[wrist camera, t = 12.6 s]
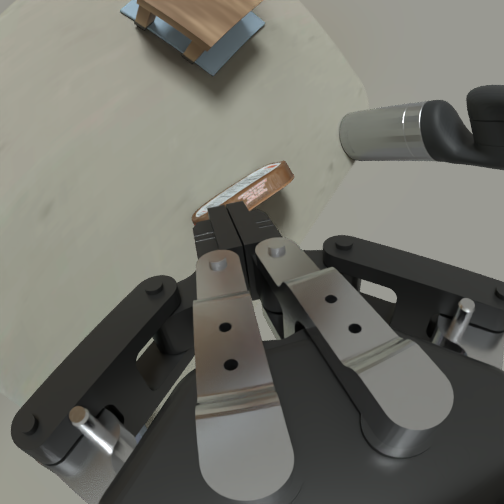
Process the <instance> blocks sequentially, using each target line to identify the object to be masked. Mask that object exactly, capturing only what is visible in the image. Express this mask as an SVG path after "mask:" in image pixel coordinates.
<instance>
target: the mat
mask: <svg viewBox="0 0 504 504" xmlns="http://www.w3.org/2000/svg"><path fill="white" fill-rule="evenodd" d="M138 7H139V5H138V4H137V0H131V1H130V2H129V3H128V4H127V5H125V6H124V7H123V8H122V9H121V10H120V12H121V13H123V14H125V15H126V16H128V17H130V18H131V19H133V20H134V21H135V19H136V15H137V11H138ZM264 24H265V22H264V21H262V20H261V19H260V18H259V17H258V16H256V15H255V14H254V13H253V12H252V11H250V12H249V13H248V14H247V15H246V16H245V17H243V18H242V19H241V20H240V21H239V22H238V23H237V24H236V25H234V26H233V27H232V28H231V29H230V30H229V31H228V32H227V33H226V34H225V35H224V36H223V37H222V38H221V39H220V40H219V41H218V42H217V43H215V44H214V45H213V46H212V47H211V48H210V49H209V50H208V51H204V52H203V53H202V55H201V56H200V57H199V58H198V59H197V60H196V61H195V63H196V64H198V65H199V66H200V67H201V68H203V69H204V70H205V71H207V72H208V73H209V74H211V75H212V76H214V75H215V74H216V73H217V71H218V70H219V69H220V68H221V67H222V66H223V65H224V64H225V63H226V62H227V61H228V60H229V58H230V57H231V56H232V55H233V54H234V53H235V52H236V51H237V50H238V49H239V48H240V47H241V46H242V45H243V44H244V43H245V42H246V41H247V40H248V39H249V38H250V37H251V36H252V35H253V34H254V33H255V32H256V31H257V30H258V29H259V28H260V27H262V26H263V25H264ZM147 29H148V30H150V31H151V32H153V33H154V34H156V35H157V36H159V37H160V38H161V39H163V40H164V41H166V42H167V43H169V44H170V45H172V46H173V47H174V48H176V49H177V50H179V51H180V52H181V53H184V52H185V50H186V49H187V47H188V46H189V44H190V43H191V41H192V40H190V39H189V38H188V37H186V36H185V35H183V34H182V33H181V32H179V31H178V30H176V29H175V28H173V27H172V26H171V25H169V24H168V23H166V22H165V21H163V20H162V19H160V18H159V17H157V16H156V18H155V20H154V22H153V23H152V24H151V25H150V26H149V27H148V28H147Z"/></svg>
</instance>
